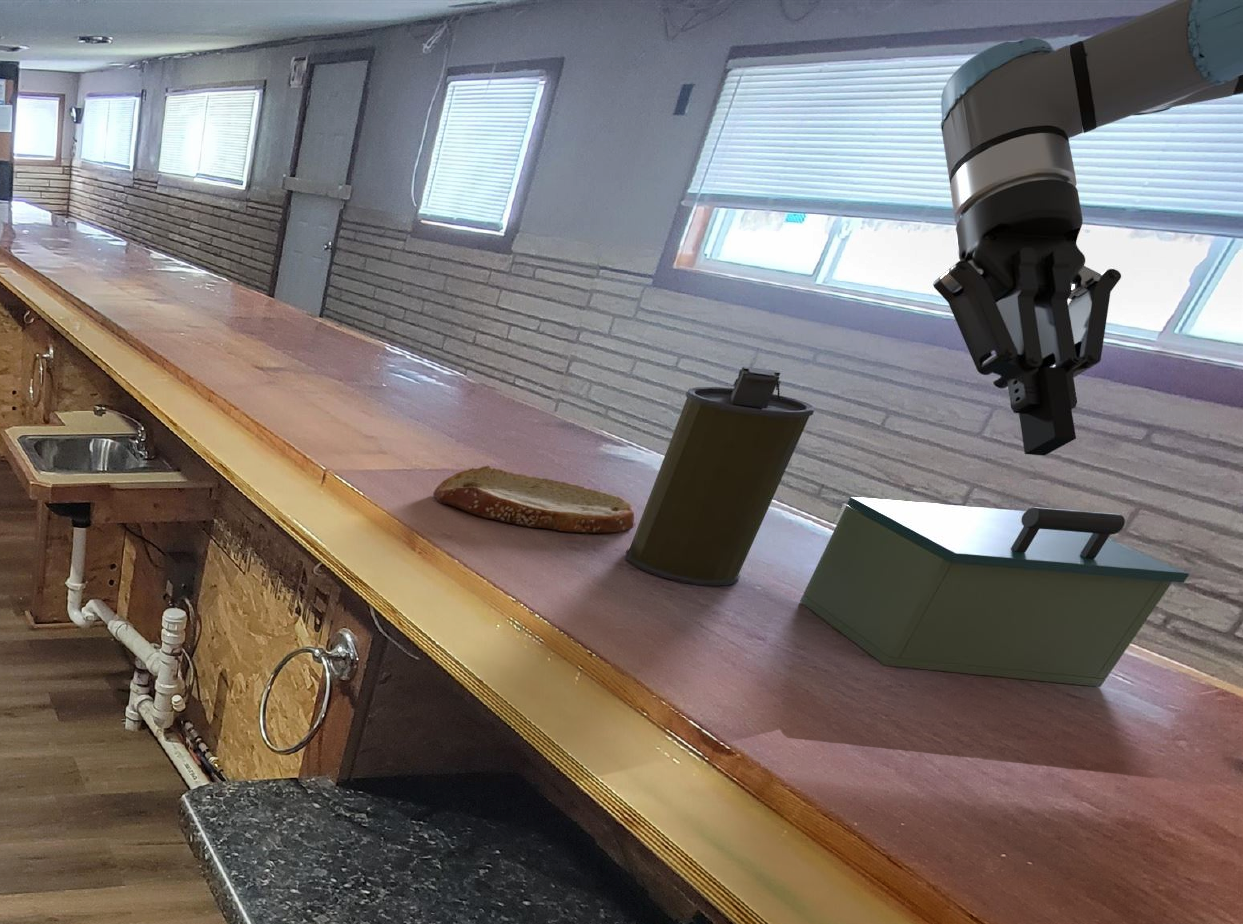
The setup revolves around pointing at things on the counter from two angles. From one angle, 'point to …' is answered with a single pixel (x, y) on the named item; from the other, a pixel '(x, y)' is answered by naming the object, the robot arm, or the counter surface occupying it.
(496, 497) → the bread slice
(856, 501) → the lid
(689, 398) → the canister
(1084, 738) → the counter surface
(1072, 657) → the box
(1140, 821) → the counter surface
